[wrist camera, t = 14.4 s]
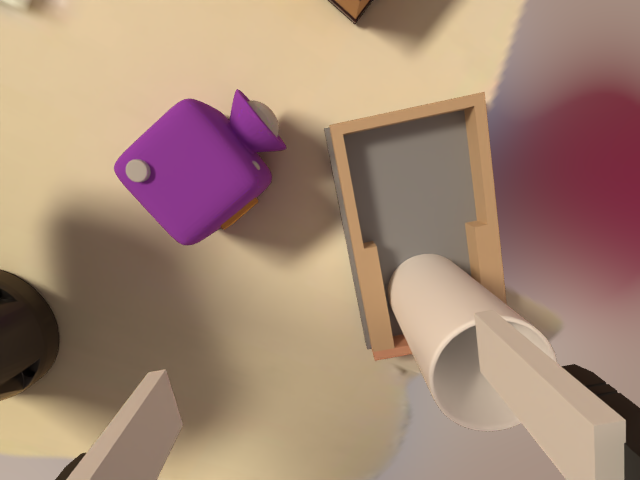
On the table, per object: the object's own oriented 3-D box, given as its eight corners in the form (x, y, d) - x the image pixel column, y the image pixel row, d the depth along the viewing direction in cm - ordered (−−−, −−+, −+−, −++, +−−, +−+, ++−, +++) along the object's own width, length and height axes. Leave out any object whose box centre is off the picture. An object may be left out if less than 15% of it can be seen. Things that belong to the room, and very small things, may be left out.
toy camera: (308, 142, 38) (304, 136, 28) (229, 242, 40) (199, 269, 30) (224, 70, 36) (187, 37, 27) (146, 178, 39) (87, 185, 29)
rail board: (365, 342, 42) (370, 361, 38) (324, 129, 37) (324, 126, 33) (496, 318, 42) (514, 335, 38) (472, 98, 37) (490, 90, 33)
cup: (374, 309, 40) (408, 406, 24) (408, 241, 38) (467, 297, 23) (442, 337, 40) (518, 449, 25) (478, 271, 39) (583, 346, 23)
